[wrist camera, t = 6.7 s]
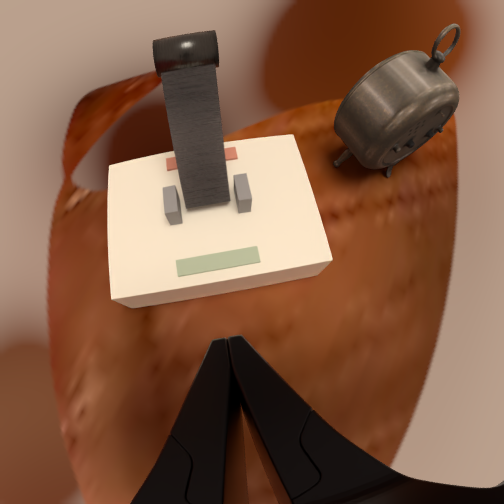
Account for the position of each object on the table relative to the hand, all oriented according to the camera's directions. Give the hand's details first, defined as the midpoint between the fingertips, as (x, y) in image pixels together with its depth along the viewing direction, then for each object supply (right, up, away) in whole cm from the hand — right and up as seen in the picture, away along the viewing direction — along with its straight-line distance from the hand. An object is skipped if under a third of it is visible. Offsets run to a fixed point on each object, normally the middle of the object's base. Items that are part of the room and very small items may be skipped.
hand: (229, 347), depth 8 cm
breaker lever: (-2, +6, +11) cm, 13 cm away
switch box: (-2, +4, +15) cm, 16 cm away
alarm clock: (+12, +11, +18) cm, 25 cm away
